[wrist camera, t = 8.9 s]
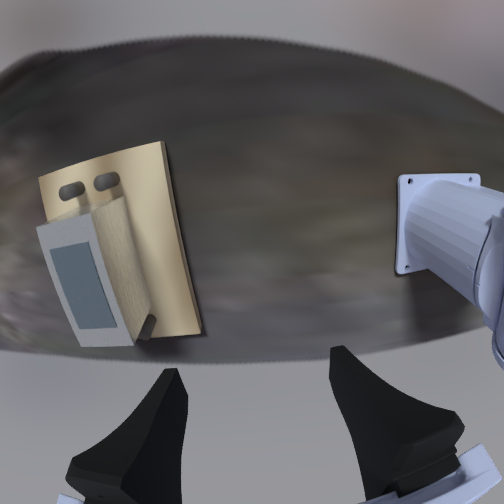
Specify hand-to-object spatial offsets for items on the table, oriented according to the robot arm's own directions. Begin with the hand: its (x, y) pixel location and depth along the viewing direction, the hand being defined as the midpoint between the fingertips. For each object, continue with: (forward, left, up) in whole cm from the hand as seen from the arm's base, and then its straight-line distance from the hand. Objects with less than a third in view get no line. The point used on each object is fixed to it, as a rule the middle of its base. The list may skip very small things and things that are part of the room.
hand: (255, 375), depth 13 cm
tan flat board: (+9, -4, -9) cm, 14 cm away
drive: (+9, -4, -8) cm, 13 cm away
